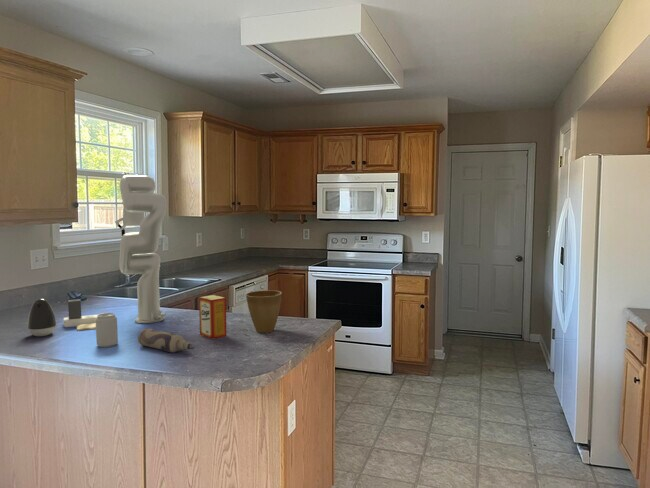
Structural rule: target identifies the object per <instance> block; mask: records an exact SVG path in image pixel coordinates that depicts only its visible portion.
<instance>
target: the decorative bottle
mask: <svg viewBox="0 0 650 488" xmlns="http://www.w3.org/2000/svg"><path fill="white" fill-rule="evenodd" d="M137 341H138V343H139V344H140V345H141V346H143V347H148V348H153V349H158V350H162V351H164V352H168V353H171V354H172V353H177V352H181V351H189V350H190V351H191V350H194V349H195V346H194V344H193V343H191V342H190V341H187V340H185V339H184V337H183V336H181V335H180V334H176V333H170V332H167V331H160V330H157V329H156V330H155V329H151V328H144V329H142V330H141V331H140V332H139V334H138V337H137Z"/></svg>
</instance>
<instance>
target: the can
mask: <svg viewBox="0 0 650 488" xmlns="http://www.w3.org/2000/svg"><path fill="white" fill-rule="evenodd" d="M102 313H103V314H101V313H99V315H98V314H96V315H97V316H98V317H97V318H96V329H95V334H96V335H95V336H96V337H95V338H96V345H97V346H98V347H100V348H110V347H111V348H112V347H115V346H116V345H117V343H119V337H118V336H119V334H118V332H119V331H118V317H117V316H116V314H115V313H113V312H102Z"/></svg>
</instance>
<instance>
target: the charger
mask: <svg viewBox="0 0 650 488" xmlns="http://www.w3.org/2000/svg"><path fill="white" fill-rule="evenodd" d="M67 306H68V307H67V309H68V310H67V311H68V317H69V320H70V319H80V318H81V316H82V302H81V299H80V298H79V299H69V300H67Z"/></svg>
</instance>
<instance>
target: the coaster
mask: <svg viewBox="0 0 650 488" xmlns="http://www.w3.org/2000/svg"><path fill="white" fill-rule="evenodd" d="M89 330H96V323H92V324H83V325H77V326H76V331H78V332H81V331H89Z"/></svg>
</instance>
